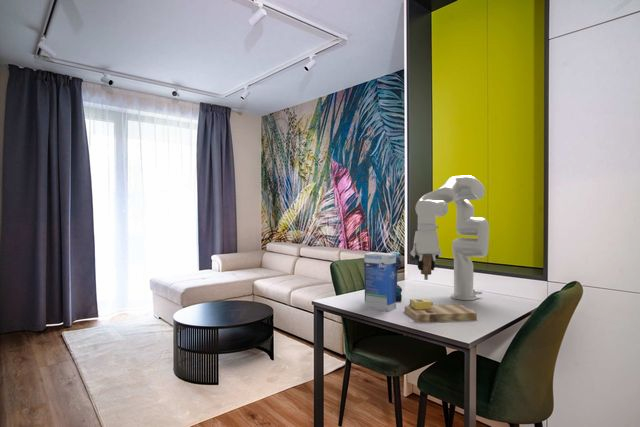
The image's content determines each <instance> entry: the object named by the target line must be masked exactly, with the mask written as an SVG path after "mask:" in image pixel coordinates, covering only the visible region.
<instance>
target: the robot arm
mask: <svg viewBox="0 0 640 427" xmlns="http://www.w3.org/2000/svg"><path fill="white" fill-rule="evenodd" d="M485 191H486V189H485V186H484V185H483V183H482V182H481V181H480V180H479V179H478V178H476V177H474V176H472V175H455V176H451V177H449V178H448V179H446V181H444V183H443V184H442V185H441V186H440V187H439V188H436V189H435V190H433V191H430V192H428V193H427V192H426V194H424V195H422V196H421V197H420V198H419V199H418V200H417V202H416V204H415V213H416V215H417V230H415V233H414V237H413V247H412V250H411V251H410V252H409V254H410V255H411V256H412V257H413V258H415V259H416V261H417V269H418V270H419V271H421V270H423V261H422V256H423V255H430V256H432V261H431V271H435V268H436V261H437V259H438V258H439V257H441V256H442V255H443V251H442V250H441V249H440V244H439V243H440V242H439V241H440V240H439V235H438V232H437V231H436V230H437V229H439V225H437V224H436V223H437V222H436V218H440V217H444V216H446V215H447V214H448V212H449V205H448V204H449V203H452V202H454V204H455V206H456V224H455V228H456V232H457V235H461V236H470V237H457V238H455V239H453V241H452V244H451V249H452V254H453V293H451V294H450V297H451V298H452V299H453V300H454V299H455V300H459V301H475V300H477V295H483V290H477V289H474V263H473V261H472V260H471V258H470V257H473V258H485V257H486V256H487V255H488V252H489V243H490V242H489V241H490V240H489V239H490V224H489V222H488V220H487V219H486V218H485V217H475V207H474V205H473V204H472V202H470V201H473V200H474V201H475V200H476V201H478V200H481V199H483V198H484V196H485V193H486V192H485ZM471 236H472V237H471ZM473 236H474V237H473ZM475 236H476V237H477V238H475Z"/></svg>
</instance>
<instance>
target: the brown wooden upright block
mask: <svg viewBox="0 0 640 427" xmlns="http://www.w3.org/2000/svg"><path fill="white" fill-rule="evenodd" d="M422 261H423V270H420V274H421V275H424V276H423V278H424V281H428V280H429V278H428V277H429V276H431V275H432V270H431V261H432V256H430V254H423V256H422Z"/></svg>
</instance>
